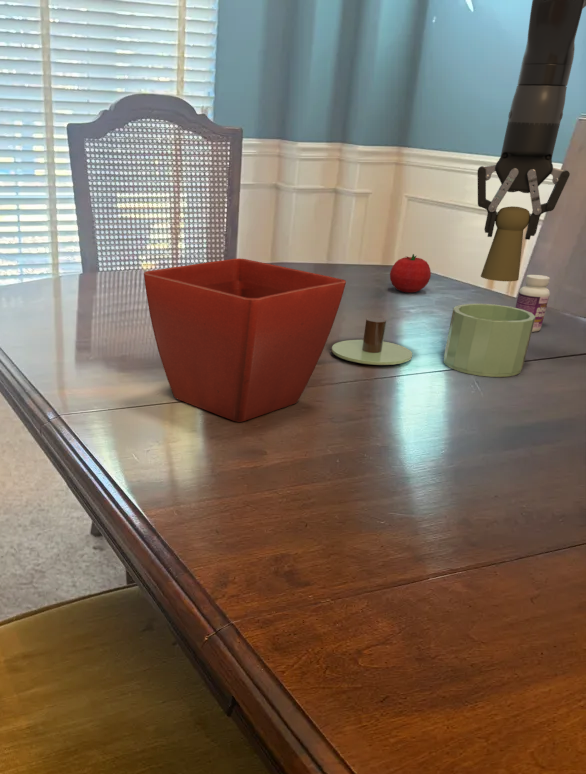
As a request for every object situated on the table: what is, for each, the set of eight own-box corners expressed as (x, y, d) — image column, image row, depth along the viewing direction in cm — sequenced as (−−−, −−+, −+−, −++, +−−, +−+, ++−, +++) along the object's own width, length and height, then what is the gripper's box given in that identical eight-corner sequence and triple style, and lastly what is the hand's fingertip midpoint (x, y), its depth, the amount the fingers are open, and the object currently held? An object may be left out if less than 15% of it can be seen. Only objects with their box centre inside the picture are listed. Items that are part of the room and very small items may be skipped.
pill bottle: (537, 334, 143) (551, 280, 138) (507, 329, 145) (520, 276, 141) (542, 328, 147) (556, 275, 142) (513, 324, 149) (526, 272, 145)
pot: (472, 351, 132) (483, 300, 128) (536, 369, 124) (550, 315, 119) (428, 361, 126) (438, 309, 121) (492, 381, 117) (505, 325, 113)
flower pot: (334, 404, 107) (350, 278, 98) (242, 438, 95) (252, 298, 87) (232, 371, 118) (239, 256, 110) (139, 398, 107) (139, 272, 98)
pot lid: (367, 342, 135) (372, 306, 132) (427, 360, 126) (434, 323, 123) (314, 353, 128) (319, 316, 125) (374, 373, 119) (380, 334, 116)
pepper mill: (524, 281, 127) (541, 209, 121) (487, 280, 127) (503, 208, 121) (510, 274, 132) (526, 205, 127) (475, 273, 132) (489, 204, 127)
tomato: (384, 286, 177) (389, 250, 173) (422, 288, 177) (428, 251, 173) (391, 295, 170) (397, 257, 166) (431, 296, 169) (438, 258, 166)
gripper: (582, 121, 119) (553, 238, 127) (485, 118, 123) (463, 231, 131) (587, 122, 113) (556, 244, 121) (484, 118, 117) (461, 237, 125)
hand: (508, 237), depth 126 cm, fingers closed on pepper mill, 5 cm apart
